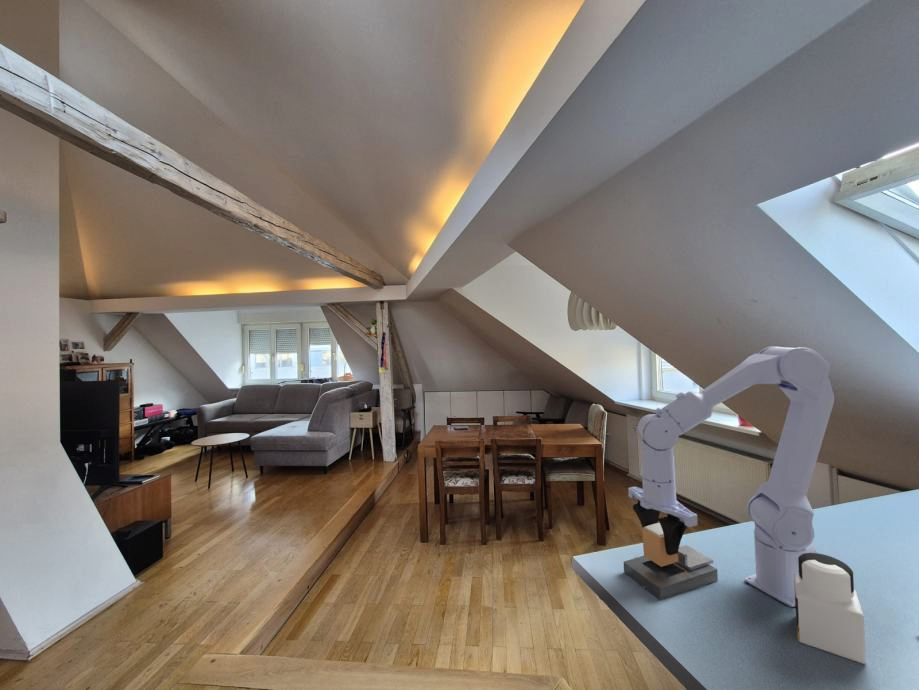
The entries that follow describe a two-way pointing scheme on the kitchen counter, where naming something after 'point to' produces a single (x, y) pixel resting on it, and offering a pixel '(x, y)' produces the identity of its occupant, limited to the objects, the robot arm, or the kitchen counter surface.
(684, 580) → the socket plate
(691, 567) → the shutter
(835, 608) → the medicine bottle
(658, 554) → the brown and white block
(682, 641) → the kitchen counter surface
